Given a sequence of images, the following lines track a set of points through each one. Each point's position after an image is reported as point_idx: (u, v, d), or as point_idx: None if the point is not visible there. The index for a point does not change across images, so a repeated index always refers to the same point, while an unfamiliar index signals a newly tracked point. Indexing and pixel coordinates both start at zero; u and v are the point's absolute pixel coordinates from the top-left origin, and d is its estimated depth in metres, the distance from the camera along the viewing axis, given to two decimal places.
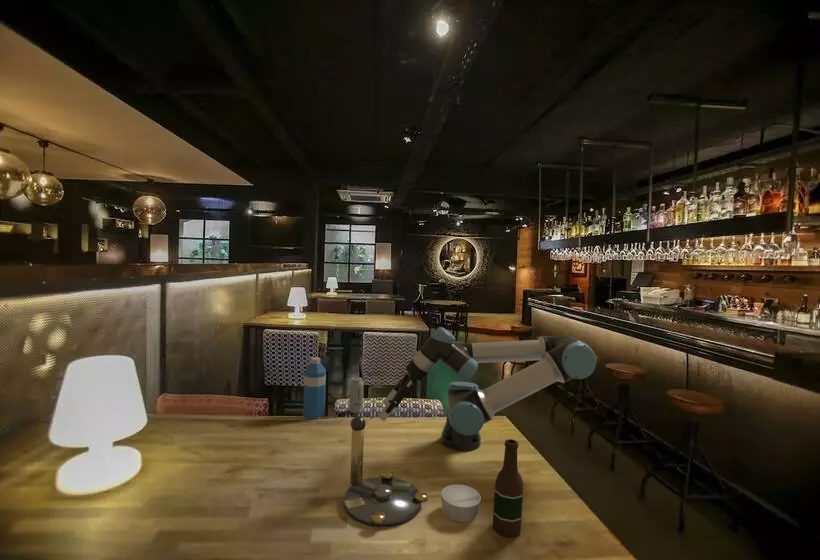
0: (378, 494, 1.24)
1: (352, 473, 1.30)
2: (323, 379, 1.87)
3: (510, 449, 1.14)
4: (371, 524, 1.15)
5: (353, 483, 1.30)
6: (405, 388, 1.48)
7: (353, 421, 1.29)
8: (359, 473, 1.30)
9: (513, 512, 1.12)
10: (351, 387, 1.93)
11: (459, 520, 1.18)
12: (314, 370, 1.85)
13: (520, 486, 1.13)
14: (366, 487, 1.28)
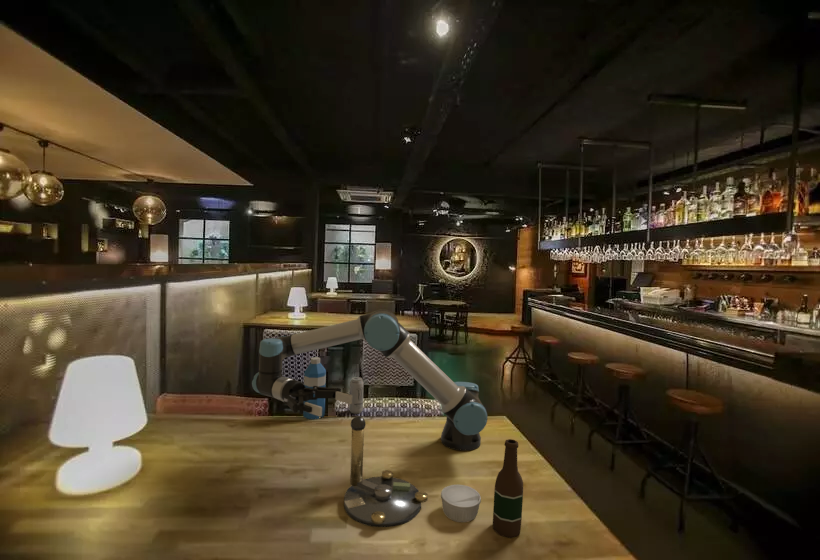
0: (378, 494, 1.24)
1: (352, 473, 1.30)
2: (323, 379, 1.87)
3: (510, 449, 1.14)
4: (371, 524, 1.15)
5: (353, 483, 1.30)
6: (288, 402, 1.36)
7: (353, 421, 1.29)
8: (359, 473, 1.30)
9: (513, 512, 1.12)
10: (351, 387, 1.93)
11: (459, 520, 1.18)
12: (314, 370, 1.85)
13: (520, 486, 1.13)
14: (366, 487, 1.28)
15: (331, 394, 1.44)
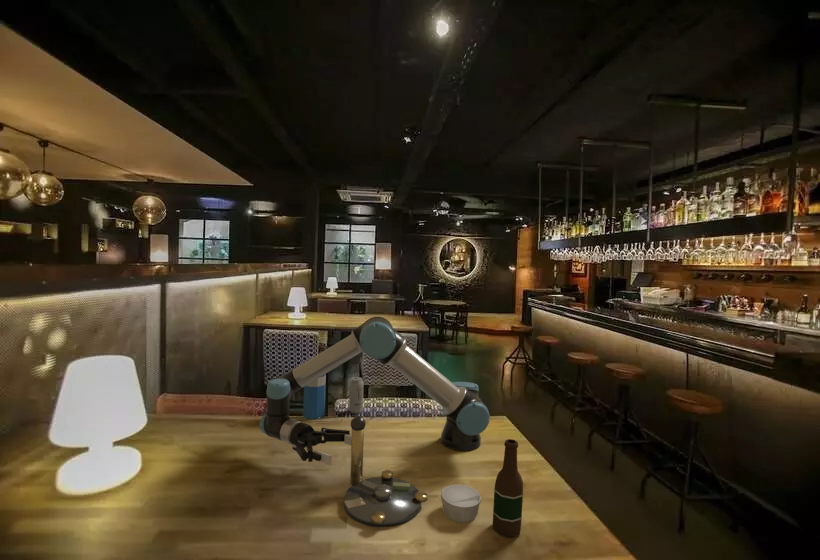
0: (378, 494, 1.24)
1: (352, 473, 1.30)
2: (323, 379, 1.87)
3: (510, 449, 1.14)
4: (371, 524, 1.15)
5: (353, 483, 1.30)
6: (296, 448, 1.34)
7: (353, 421, 1.29)
8: (359, 473, 1.30)
9: (513, 512, 1.12)
10: (351, 387, 1.93)
11: (459, 520, 1.18)
12: None
13: (520, 486, 1.13)
14: (366, 487, 1.28)
15: (340, 437, 1.42)
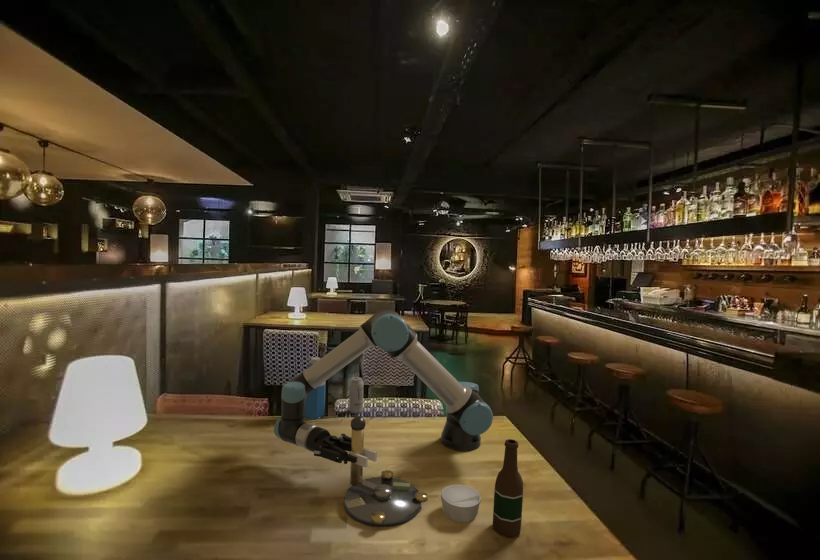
0: (378, 494, 1.24)
1: (352, 473, 1.30)
2: None
3: (510, 449, 1.14)
4: (371, 524, 1.15)
5: (353, 483, 1.30)
6: (322, 453, 1.31)
7: (353, 421, 1.29)
8: (359, 473, 1.30)
9: (513, 512, 1.12)
10: (351, 387, 1.93)
11: (459, 520, 1.18)
12: None
13: (520, 486, 1.13)
14: (366, 487, 1.28)
15: None
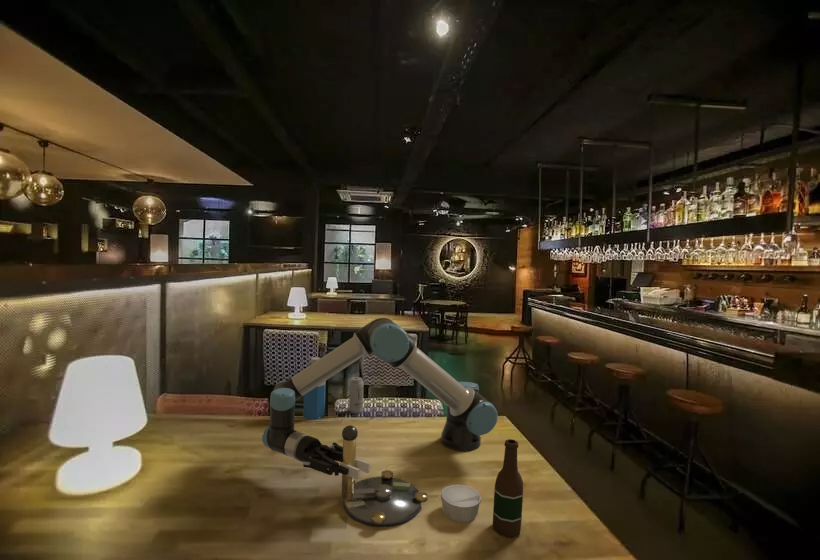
0: (384, 495, 1.24)
1: (348, 486, 1.23)
2: None
3: (510, 449, 1.14)
4: (371, 524, 1.15)
5: (349, 496, 1.23)
6: (312, 464, 1.24)
7: (348, 431, 1.21)
8: (354, 483, 1.24)
9: (513, 512, 1.12)
10: (351, 387, 1.93)
11: (459, 520, 1.18)
12: None
13: (520, 486, 1.13)
14: (365, 494, 1.24)
15: None
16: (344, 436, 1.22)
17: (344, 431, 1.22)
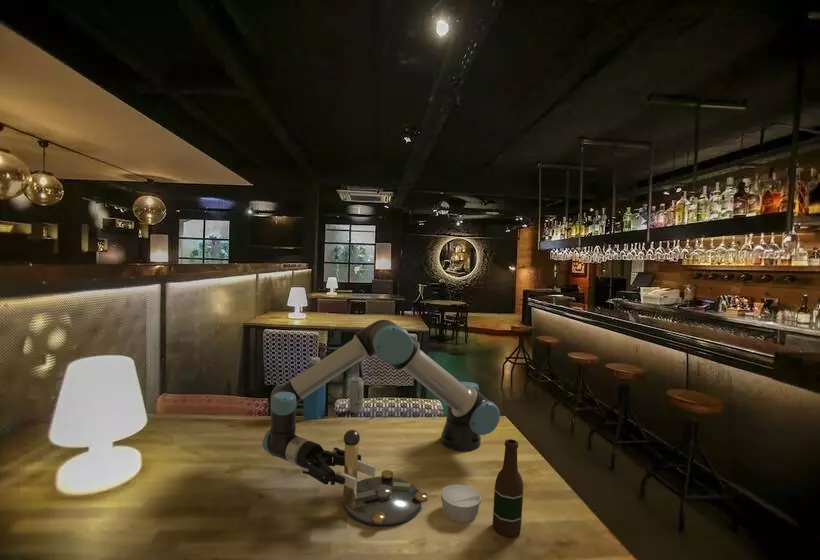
0: (387, 494, 1.24)
1: (352, 492, 1.20)
2: None
3: (510, 449, 1.14)
4: (371, 524, 1.15)
5: (353, 502, 1.20)
6: (310, 471, 1.20)
7: (352, 436, 1.19)
8: None
9: (513, 512, 1.12)
10: (351, 387, 1.93)
11: (459, 520, 1.18)
12: None
13: (520, 486, 1.13)
14: (367, 497, 1.23)
15: None
16: (348, 441, 1.18)
17: (347, 436, 1.19)
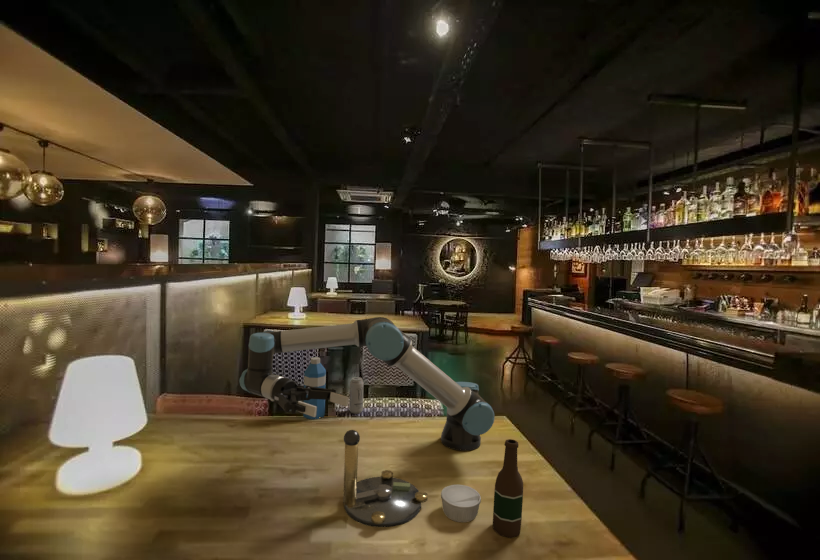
0: (387, 494, 1.24)
1: (352, 492, 1.20)
2: (323, 379, 1.87)
3: (510, 449, 1.14)
4: (371, 524, 1.15)
5: (353, 502, 1.20)
6: (279, 400, 1.26)
7: (352, 436, 1.19)
8: (356, 488, 1.22)
9: (513, 512, 1.12)
10: (351, 387, 1.93)
11: (459, 520, 1.18)
12: (314, 370, 1.85)
13: (520, 486, 1.13)
14: (367, 497, 1.23)
15: (325, 395, 1.34)
16: (348, 441, 1.18)
17: (347, 436, 1.19)
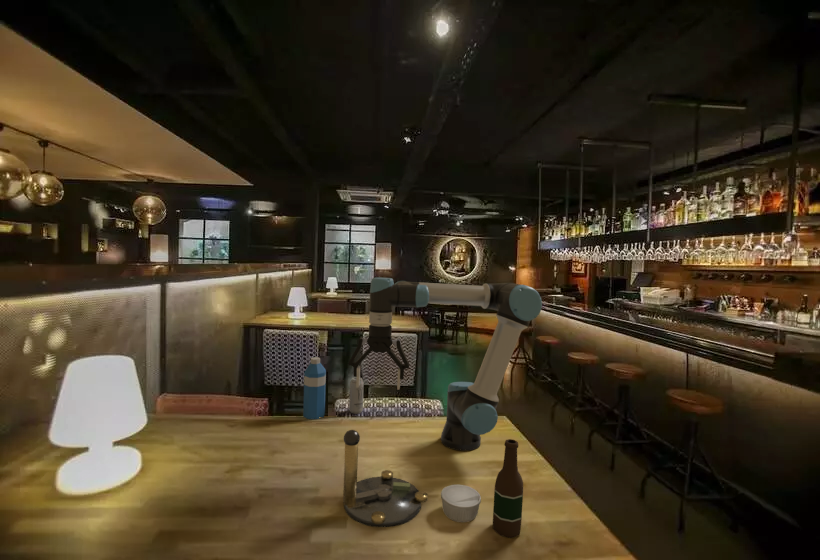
0: (387, 494, 1.24)
1: (352, 492, 1.20)
2: (323, 379, 1.87)
3: (510, 449, 1.14)
4: (371, 524, 1.15)
5: (353, 502, 1.20)
6: (401, 348, 1.45)
7: (352, 436, 1.19)
8: (356, 488, 1.22)
9: (513, 512, 1.12)
10: (351, 387, 1.93)
11: (459, 520, 1.18)
12: (314, 370, 1.85)
13: (520, 486, 1.13)
14: (367, 497, 1.23)
15: None
16: (348, 441, 1.18)
17: (347, 436, 1.19)
